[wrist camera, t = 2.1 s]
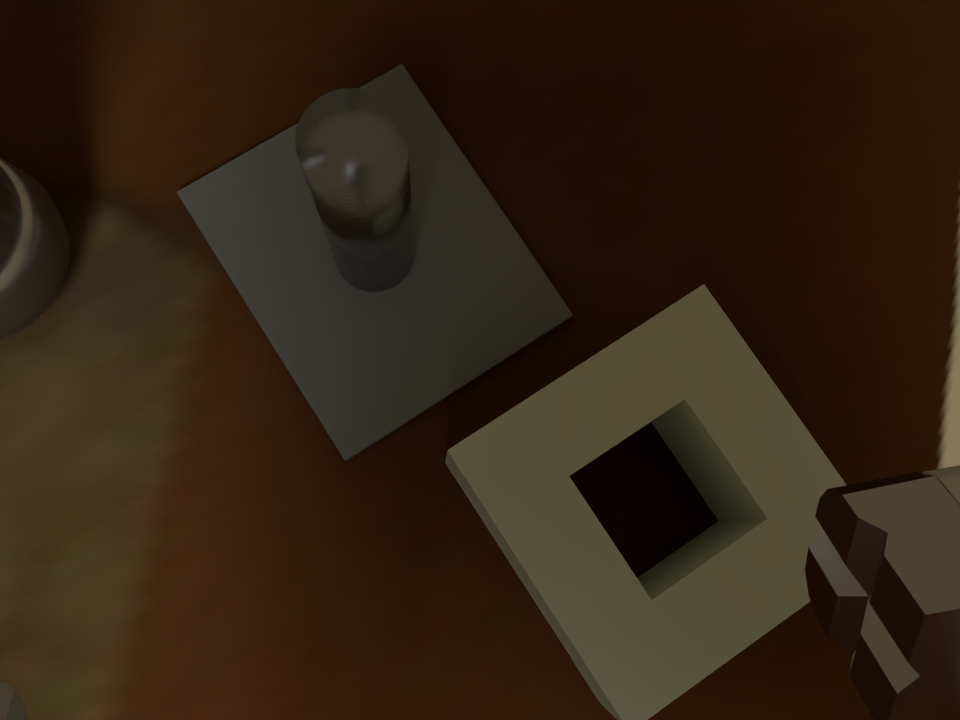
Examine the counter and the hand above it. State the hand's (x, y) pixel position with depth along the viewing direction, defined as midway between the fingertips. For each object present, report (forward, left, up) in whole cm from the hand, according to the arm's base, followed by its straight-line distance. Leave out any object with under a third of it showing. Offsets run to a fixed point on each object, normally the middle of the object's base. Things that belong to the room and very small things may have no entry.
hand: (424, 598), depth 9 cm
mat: (+10, -4, -24) cm, 27 cm away
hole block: (-3, -7, -24) cm, 25 cm away
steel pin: (+10, -4, -24) cm, 26 cm away
